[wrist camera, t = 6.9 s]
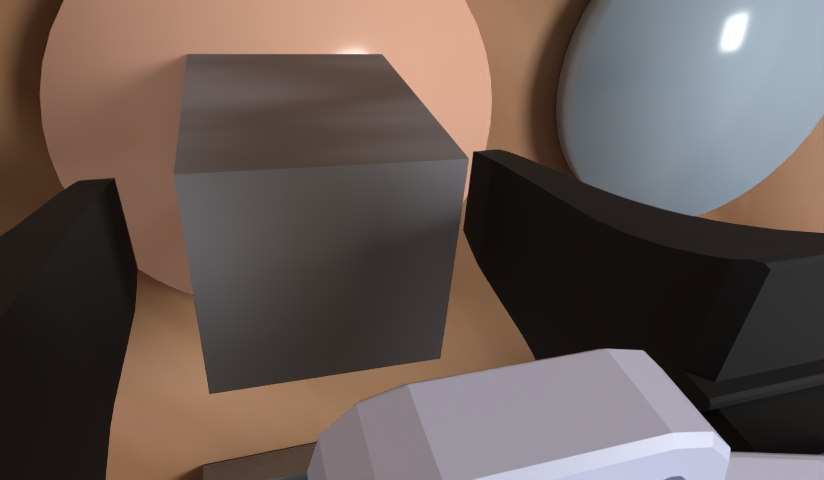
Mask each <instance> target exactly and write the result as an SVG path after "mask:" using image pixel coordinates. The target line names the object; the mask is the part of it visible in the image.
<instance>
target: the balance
mask: <svg viewBox="0 0 824 480" xmlns="http://www.w3.org/2000/svg"><path fill="white" fill-rule="evenodd" d="M315 446H316V443H312V444H307V445H302V446H297V447H292V448H287V449H283V450H278V451H273V452H268V453H263V454H258V455H253V456H248V457H243V458H238V459H233V460H228V461H223V462H218V463H213V464H208V465H203V480H308V476H307V470H308V467H309V464H310V461H311V458H312V455H313V452H314V449H315Z"/></svg>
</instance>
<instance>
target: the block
mask: <svg viewBox="0 0 824 480" xmlns="http://www.w3.org/2000/svg"><path fill="white" fill-rule="evenodd" d="M468 163H469V158H468V157H467V156H466V154H465V153H464V152H463V151H462V150H461V148H460V147H459V146H458V145H457V144H456V142H455V141H454V140H453V139H452V138H451V136H450V135H449V134H448V133H447V132H446V130H445V129H444V128H443V127H442V126H441V124H440V123H439V122H438V121H437V119H436V118H435V117H434V116H433V115H432V113H431V112H430V111H429V110H428V109H427V107H426V106H425V105H424V104H423V103H422V101H421V100H420V99H419V98H418V97H417V95H416V94H415V93H414V92H413V91H412V89H411V88H410V87H409V86H408V85H407V83H406V82H405V81H404V80H403V79H402V77H401V76H400V75H399V74H398V73H397V71H396V70H395V69H394V68H393V67H392V65H391V64H390V63H389V62H388V61H387V59H386V58H385V57H384V56H383V55H382V54H187V61H186V69H185V78H184V87H183V96H182V105H181V113H180V122H179V131H178V140H177V149H176V157H175V166H174V181H175V187H176V193H177V199H178V205H179V211H180V217H181V223H182V229H183V235H184V241H185V248H186V254H187V260H188V266H189V272H190V278H191V284H192V290H193V296H194V302H195V308H196V315H197V321H198V327H199V333H200V339H201V345H202V351H203V357H204V363H205V369H206V375H207V382H208V388H209V394H213V393H219V392H226V391H232V390H239V389H245V388H252V387H258V386H265V385H271V384H278V383H284V382H291V381H297V380H304V379H310V378H316V377H323V376H329V375H336V374H342V373H349V372H355V371H362V370H368V369H375V368H381V367H388V366H394V365H401V364H407V363H414V362H420V361H427V360H433V359H439V358H440V356H441V349H442V342H443V335H444V329H445V322H446V315H447V308H448V301H449V294H450V287H451V280H452V274H453V267H454V260H455V253H456V246H457V239H458V232H459V225H460V218H461V212H462V205H463V198H464V191H465V184H466V177H467V170H468Z"/></svg>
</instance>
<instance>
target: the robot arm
mask: <svg viewBox="0 0 824 480" xmlns="http://www.w3.org/2000/svg"><path fill="white" fill-rule="evenodd" d="M463 231H464V233H465V235H466V238H467V240H468V243H469V245H470V248H471V250H472V252H473V255H474V257H475V259H476V261H477V264H478V265H479V267H480V269H481V270H482V272H483V274H484V275H485V277H486V279H487V280H488V282H489V283H490V285H491V287H492V288H493V290H494V291H495V293H496V295H497V296H498V298H499V299H500V301H501V302H502V304H503V306H504V307H505V309H506V310H507V312H508V313H509V315H510V317H511V318H512V320H513V321H514V323H515V324H516V326H517V327H518V329H519V331H520V332H521V334H522V335H523V337H524V339H525V341H526V342H527V344H528V346H529V348H530V349H531V351H532V353H533V355H534V357H535V359H536V361H530V362H525V363H519V364H514V365H508V366H503V367H497V368H492V369H486V370H481V371H475V372H470V373H464V374H459V375H453V376H448V377H442V378H437V379H431V380H426V381H420V382H415V383H409V384H404V385H401V386H399V387H396V388H393V389H391V390H388V391H385V392H383V393H380V394H377V395H374V396H372V397H369V398H366V399H364V400H361V401H359V402H358V403H356V404H355V405H354V406H353V407H352V408H351V409H350V410H348V411H347V412H346V413H345V414H344V415H343V416H342V417H340V418H339V419H338V420H337V421H336V422H335V423H334V424H332V425H331V426H330V427H329V428H328V429H327V430H326V431H324V432H323V433H322V434H321V435H320V436H319V437H318V440H317V443H316V446H315V449H314V452H313V455H312V458H311V461H310V464H309V467H308V470H307V476H308V480H824V233H814V232H800V231H787V230H776V229H768V228H761V227H753V226H746V225H738V224H732V223H726V222H720V221H714V220H709V219H705V218H700V217H695V216H690V215H685V214H681V213H677V212H672V211H668V210H664V209H661V208H657V207H654V206H650V205H647V204H643V203H640V202H636V201H633V200H630V199H627V198H624V197H621V196H618V195H615V194H612V193H610V192H607V191H604V190H601V189H599V188H596V187H593V186H591V185H588V184H586V183H583V182H581V181H578V180H576V179H573V178H571V177H569V176H566V175H564V174H561V173H559V172H557V171H554V170H552V169H550V168H547V167H545V166H543V165H540V164H538V163H536V162H533V161H531V160H529V159H526V158H524V157H521V156H518V155H516V154H513V153H510V152H507V151H503V150H486V151H473V157H472V165H471V173H470V181H469V189H468V197H467V205H466V213H465V221H464V230H463ZM136 289H137V263H136V259H135V255H134V251H133V247H132V243H131V239H130V236H129V232H128V228H127V224H126V220H125V216H124V212H123V208H122V204H121V201H120V197H119V193H118V189H117V185H116V181H115V178H106V179H92V180H79V181H77V182H75V183H73V184H72V185H70V186H69V187H67V188H66V189H64V190H63V191H62V192H60V193H59V194H58V195H56V196H55V197H54V198H52V199H51V200H50V201H48V202H47V203H46V204H44V205H43V206H42V207H41V208H39V209H38V210H36V211H35V212H34V213H32V214H31V215H30V216H28V217H27V218H26V219H24V220H23V221H22V222H20V223H19V224H18V225H16V226H15V227H14V228H12V229H11V230H9V231H8V232H6V233H5V234H4V235H2V236H1V237H0V480H105V479H106V467H107V457H108V446H109V436H110V426H111V420H112V414H113V408H114V403H115V398H116V394H117V389H118V385H119V380H120V376H121V371H122V367H123V363H124V358H125V354H126V349H127V345H128V340H129V336H130V331H131V326H132V322H133V317H134V312H135V304H136Z"/></svg>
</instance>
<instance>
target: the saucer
mask: <svg viewBox="0 0 824 480" xmlns="http://www.w3.org/2000/svg"><path fill="white" fill-rule="evenodd" d="M823 115H824V0H590V2H589V3H588V5H587V6H586V8H585V10H584V12H583V14H582V16H581V18H580V20H579V22H578V24H577V26H576V28H575V30H574V32H573V35H572V38H571V40H570V43H569V46H568V48H567V51H566V54H565V57H564V61H563V65H562V69H561V73H560V76H559V83H558V90H557V97H556V123H557V132H558V138H559V142H560V146H561V149H562V153H563V155H564V157H565V160H566V162H567V164H568V166H569V168H570V170H571V171H572V172H573V174H574V175H575V177H576V178H577V180H578V181H581V182H583V183H586V184H588V185H591V186H593V187H596V188H599V189H601V190H604V191H607V192H610V193H612V194H615V195H618V196H621V197H624V198H627V199H630V200H633V201H636V202H640V203H643V204H647V205H650V206H654V207H657V208H661V209H664V210H668V211H672V212H677V213H681V214H685V215H690V216H697V215H700V214H704V213H706V212H708V211H711V210H713V209H716V208H718V207H720V206H722V205H724V204H726V203H728V202H730V201H732V200H734V199H736V198H737V197H739V196H740V195H742V194H743V193H745V192H746V191H748V190H750V189H751V188H753V187H754V186H755V185H757V184H758V183H759V182H761V181H762V180H763V179H764V178H766V177H767V176H768V175H769V174H771V173H772V172H773V171H774V170H775V169H776V168H777V167H779V166H780V165H781V164H782V163H783V162H784V161H785V160H786V159H787V158H788V157H789V156H790V155H791V154H792V153H793V152H794V151H795V150H796V149H797V148H798V147H799V145H800V144H801V143H802V142H803V141H804V139H805V138H806V137H807V136H808V135H809V134H810V132H811V131H812V130H813V128H814V127H815V126H816V124H817V123H818V122H819V120H820V119H821V117H822V116H823Z"/></svg>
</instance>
